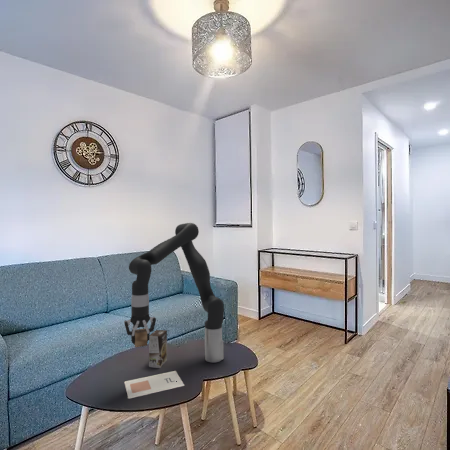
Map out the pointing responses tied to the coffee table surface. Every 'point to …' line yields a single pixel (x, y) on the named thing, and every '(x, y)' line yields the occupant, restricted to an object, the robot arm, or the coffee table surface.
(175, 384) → the mat
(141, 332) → the walnut block
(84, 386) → the coffee table surface
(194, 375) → the coffee table surface
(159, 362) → the coffee box
